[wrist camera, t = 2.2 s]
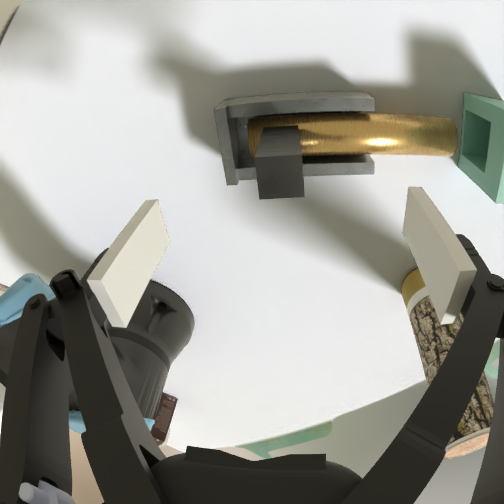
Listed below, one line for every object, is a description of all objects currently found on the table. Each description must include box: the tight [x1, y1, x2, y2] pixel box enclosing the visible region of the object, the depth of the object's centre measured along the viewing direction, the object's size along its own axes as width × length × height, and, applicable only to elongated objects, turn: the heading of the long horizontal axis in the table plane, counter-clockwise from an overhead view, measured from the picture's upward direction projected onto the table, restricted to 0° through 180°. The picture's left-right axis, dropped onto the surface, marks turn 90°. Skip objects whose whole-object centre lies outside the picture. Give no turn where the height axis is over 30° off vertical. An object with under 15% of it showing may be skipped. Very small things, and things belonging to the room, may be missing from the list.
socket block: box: [458, 93, 504, 204], centre depth 24 cm, size 6×9×9 cm, turn 7°
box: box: [150, 393, 178, 446], centre depth 65 cm, size 6×4×12 cm
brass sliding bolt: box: [247, 113, 458, 199], centre depth 24 cm, size 20×4×12 cm, turn 97°
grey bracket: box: [214, 91, 375, 185], centre depth 29 cm, size 14×7×6 cm, turn 97°
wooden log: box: [401, 268, 494, 459], centre depth 31 cm, size 7×7×25 cm
